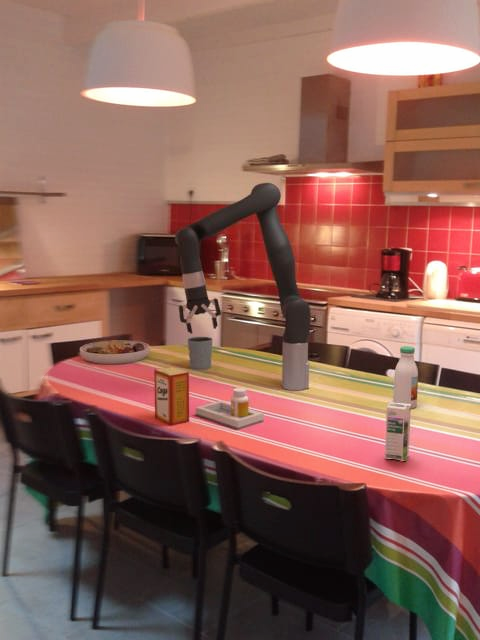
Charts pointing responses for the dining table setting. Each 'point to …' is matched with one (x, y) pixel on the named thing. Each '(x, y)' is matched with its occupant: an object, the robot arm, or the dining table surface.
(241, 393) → the supplement bottle
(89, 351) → the bowl
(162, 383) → the baking soda box
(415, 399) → the milk bottle
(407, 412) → the syrup box
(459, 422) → the dining table surface
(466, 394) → the dining table surface
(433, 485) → the dining table surface
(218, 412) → the gray rectangular tray
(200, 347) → the blue-grey cup
